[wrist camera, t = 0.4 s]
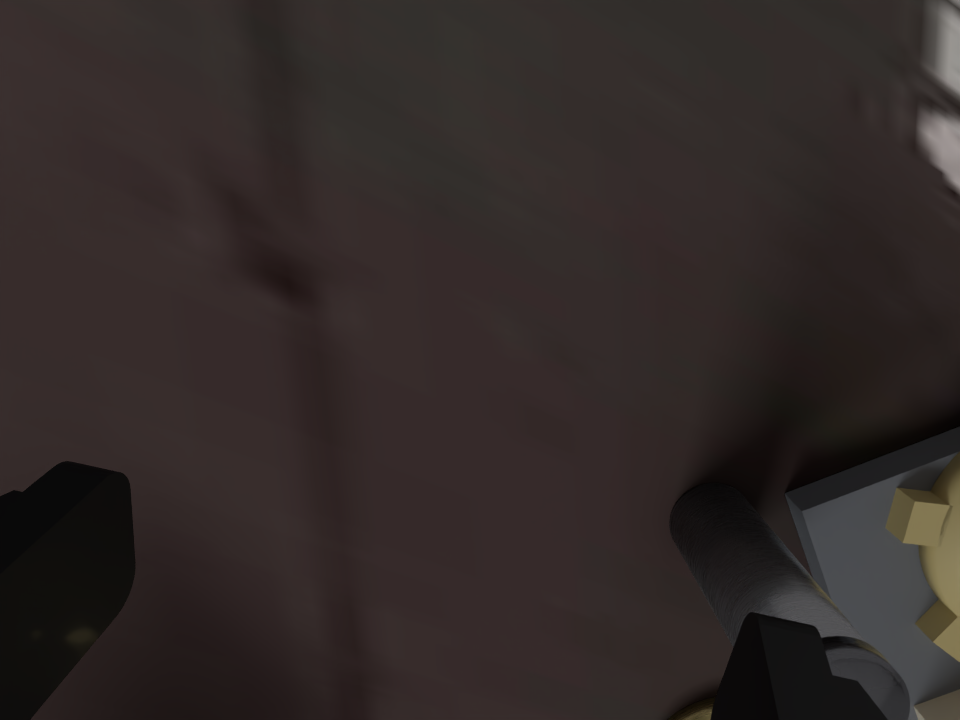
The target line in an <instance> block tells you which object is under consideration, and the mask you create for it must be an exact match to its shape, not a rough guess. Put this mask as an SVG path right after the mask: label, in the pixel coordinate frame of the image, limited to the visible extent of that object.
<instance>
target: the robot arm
mask: <svg viewBox="0 0 960 720" xmlns="http://www.w3.org/2000/svg"><path fill="white" fill-rule="evenodd" d="M134 575H135V551H134V535H133V520H132V505H131V490H130V484H129V480H128V478H127V477H126V476H125V475H124V474H123V473H121V472H116V471H111V470H107V469H102V468H98V467H93V466H89V465H84V464H79V463H75V462H69V461H65V462H61V463H59V464H57V465H56V466H54V467H53V468H52V469H51V470H49V471H48V472H47V473H46V474H44V475H43V476H42V477H41V478H39V479H38V480H37V481H36V482H34V483H33V484H32V485H31V486H30V487H28V488H27V489H26V490H25V491H23V492H19V491H15V490H13V491H11V492H9V493H7V494H4V495H2V496H0V720H30V719H31V718H32V717H33V715H34V714H35V713H36V712H37V711H38V709H39V708H40V707H41V706H42V705H43V703H44V702H45V701H46V700H47V699H48V697H49V696H50V695H51V694H52V693H53V691H54V690H55V689H56V688H57V687H58V685H59V684H60V683H61V682H62V681H63V679H64V678H65V677H66V676H67V675H68V673H69V672H70V671H71V670H72V669H73V667H74V666H75V665H76V664H77V663H78V661H79V660H80V659H81V658H82V657H83V656H84V654H85V653H86V652H87V651H88V650H89V648H90V647H91V646H92V645H93V644H94V642H95V641H96V640H97V639H98V638H99V636H100V635H101V634H102V633H103V632H104V630H105V629H106V628H107V627H108V626H109V624H110V623H111V622H112V621H113V620H114V618H115V617H116V616H117V615H118V613H119V612H120V611H121V609H122V607H123V606H124V604H125V602H126V600H127V598H128V596H129V593H130V590H131V588H132V584H133V580H134ZM710 720H888V719H887V718H886V717H885V715H884V714H883V713H882V711H881V710H880V709H879V708H878V706H877V705H876V704H875V702H874V701H873V700H872V699H871V697H870V696H869V695H868V693H867V692H866V691H865V690H864V688H863V687H862V686H861V685H860V683H859V682H858V681H857V680H852V679H848V678H843V677H839V676H834V675H832V672H831V669H830V665H829V662H828V659H827V655H826V652H825V649H824V645H823V642H822V639H821V636H820V633H819V631H818V629H817V628H816V627H815V626H813V625H810V624H805V623H800V622H796V621H791V620H787V619H782V618H778V617H773V616H768V615H764V614H759V613H755V612H750V613H748V614H747V616H746V617H745V619H744V621H743V623H742V625H741V628H740V631H739V634H738V636H737V639H736V642H735V645H734V648H733V650H732V653H731V656H730V659H729V662H728V664H727V667H726V670H725V673H724V676H723V678H722V681H721V684H720V687H719V690H718V692H717V695H716V698H715V701H714V705H713V709H712V713H711V719H710Z"/></svg>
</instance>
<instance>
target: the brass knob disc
mask: <svg viewBox="0 0 960 720" xmlns="http://www.w3.org/2000/svg"><path fill="white" fill-rule="evenodd" d="M715 698H716V697H713V698H708V699H705V700H701V701H698V702H696V703H693V704H691V705H689V706H687V707H685V708H683V709H682V710H680V711H678V712H677V713H675V714H674V715H673V716H671V717H670V718H669V719H668V720H710V719H711V713H712V709H713V705H714V701H715Z"/></svg>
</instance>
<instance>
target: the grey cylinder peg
mask: <svg viewBox="0 0 960 720" xmlns="http://www.w3.org/2000/svg"><path fill="white" fill-rule="evenodd" d="M669 527H670V533H671V536H672V538H673V540H674V542H675V544H676V546H677V548H678V549H679V551H680V553H681V555H682V557H683V558H684V560H685V562H686V564H687V565H688V567H689V569H690V571H691V573H692V574H693V576H694V578H695V580H696V581H697V583H698V585H699V587H700V589H701V590H702V592H703V594H704V596H705V597H706V599H707V601H708V603H709V605H710V606H711V608H712V610H713V612H714V613H715V615H716V617H717V619H718V621H719V622H720V624H721V626H722V628H723V630H724V631H725V633H726V635H727V637H728V638H729V640H730V642H731V644H732V646H733V647H734V645H735V642H736V639H737V636H738V634H739V631H740V628H741V625H742V623H743V621H744V619H745V617H746V616H747V614H748V613H750V612H755V613H759V614H764V615H768V616H773V617H778V618H782V619H787V620H791V621H796V622H800V623H805V624H810V625H813V626H815V627H816V628H817V629H818V631H819V633H820V636H821V639H822V642H823V645H824V649H825V652H826V655H827V659H828V662H829V665H830V669H831V672H832V675H834V676H839V677H843V678H848V679H852V680H857V681H858V682H859V683H860V685H861V686H862V687H863V688H864V690H865V691H866V692H867V693H868V695H869V696H870V697H871V699H872V700H873V701H874V702H875V704H876V705H877V706H878V708H879V709H880V710H881V711H882V713H883V714H884V715H885V717H886V718H887V719H888V720H908V717H909V713H910V697H909V692H908V689H907V687H906V684H905V682H904V681H903V679H902V677H901V676H900V675H899V674H898V673H897V671H896V670H895V669H894V668H893V667H892V666H891V664H890V663H889V662H888V661H887V660H886V658H885V657H884V656H883V655H882V654H881V653H880V652H879V651H878V650H877V649H876V648H875V647H873V646H872V645H870V644H868V643H867V642H866V641H865V640H864V638H863V637H862V636H861V635H860V634H859V632H858V631H857V630H856V629H855V628H854V626H853V625H852V624H851V623H850V622H849V621H848V619H847V618H846V617H845V616H844V615H843V613H842V612H841V611H840V610H839V609H838V607H837V606H836V605H835V604H834V603H833V602H832V600H831V599H830V598H829V597H828V596H827V594H826V593H825V592H824V591H823V590H822V588H821V587H820V586H819V585H818V584H817V583H816V581H815V580H814V579H813V578H812V577H811V575H810V574H809V573H808V572H807V571H806V569H805V568H804V567H803V566H802V565H801V564H800V562H799V561H798V560H797V559H796V558H795V556H794V555H793V554H792V553H791V552H790V550H789V549H788V548H787V547H786V546H785V544H784V543H783V542H782V541H781V540H780V539H779V537H778V536H777V535H776V534H775V533H774V531H773V530H772V529H771V528H770V527H769V525H768V524H767V523H766V522H765V521H764V520H763V518H762V517H761V516H760V515H759V514H758V512H757V511H756V510H755V509H754V508H753V506H752V505H751V504H750V503H749V502H748V501H747V499H746V498H745V497H744V496H743V495H742V494H741V493H740V492H739V491H738V490H736V489H735V488H733V487H731V486H728V485H725V484H721V483H707V484H702V485H699V486H697V487H694V488H692V489H691V490H689V491H687V492H686V493H685V494H684V495H683V496H682V497H681V498H680V499H679V500H678V501H677V502H676V504H675V506H674V507H673V510H672V512H671V516H670V521H669Z"/></svg>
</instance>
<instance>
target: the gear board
mask: <svg viewBox="0 0 960 720" xmlns="http://www.w3.org/2000/svg"><path fill="white" fill-rule="evenodd" d="M785 496H786V499H787V502H788V505H789V508H790V511H791V514H792V517H793V520H794V523H795V526H796V529H797V532H798V535H799V538H800V540H801V543H802V546H803V549H804V552H805V555H806V558H807V561H808V564H809V567H810V570H811V573H812V576H813V579H814V580H815V581H816V583H817V584H818V585H819V586H820V587H821V588H822V590H823V591H824V592H825V593H826V594H827V596H828V597H829V598H830V599H831V600H832V602H833V603H834V604H835V605H836V606H837V607H838V609H839V610H840V611H841V612H842V613H843V615H844V616H845V617H846V618H847V619H848V621H849V622H850V623H851V624H852V625H853V626H854V628H855V629H856V630H857V631H858V632H859V634H860V635H861V636H862V637H863V638H864V640H865V641H866V642H867V643H868V644H870V645H872V646H873V647H875V648H876V649H877V650H878V651H879V652H880V653H881V654H882V655H883V656H884V657H885V658H886V660H887V661H888V662H889V663H890V664H891V666H892V667H893V668H894V669H895V670H896V671H897V673H898V674H899V675H900V676H901V677H902V679H903V681H904V682H905V684H906V687H907V689H908V692H909V697H910V713H909V717H908V720H960V427H957V428H955V429H952V430H949V431H947V432H944V433H941V434H939V435H936V436H934V437H931V438H928V439H926V440H923V441H921V442H918V443H915V444H913V445H910V446H907V447H905V448H902V449H900V450H897V451H894V452H892V453H889V454H886V455H884V456H881V457H879V458H876V459H873V460H871V461H868V462H866V463H863V464H860V465H858V466H855V467H852V468H850V469H847V470H845V471H842V472H839V473H837V474H834V475H832V476H829V477H826V478H824V479H821V480H818V481H816V482H813V483H811V484H808V485H805V486H803V487H800V488H798V489H795V490H792V491H790V492H787V493H785Z"/></svg>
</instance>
